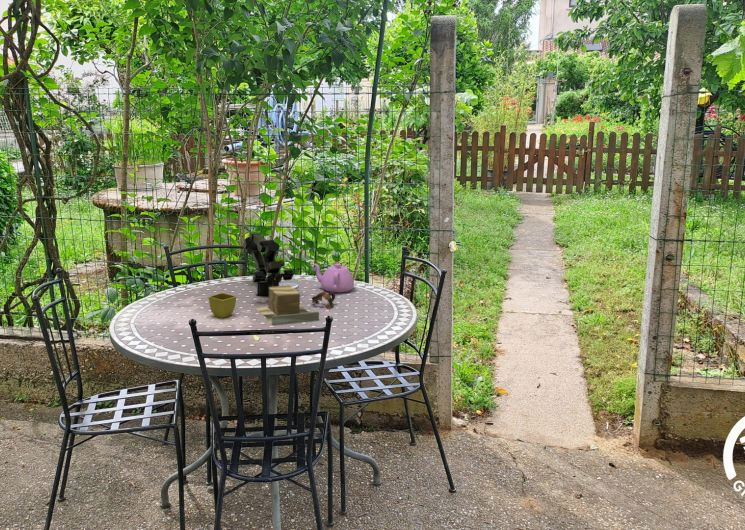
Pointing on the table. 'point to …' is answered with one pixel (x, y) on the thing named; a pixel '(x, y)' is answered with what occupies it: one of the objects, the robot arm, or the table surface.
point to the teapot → (335, 278)
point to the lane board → (288, 316)
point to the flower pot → (222, 304)
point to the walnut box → (284, 300)
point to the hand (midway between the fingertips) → (277, 291)
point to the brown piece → (326, 296)
